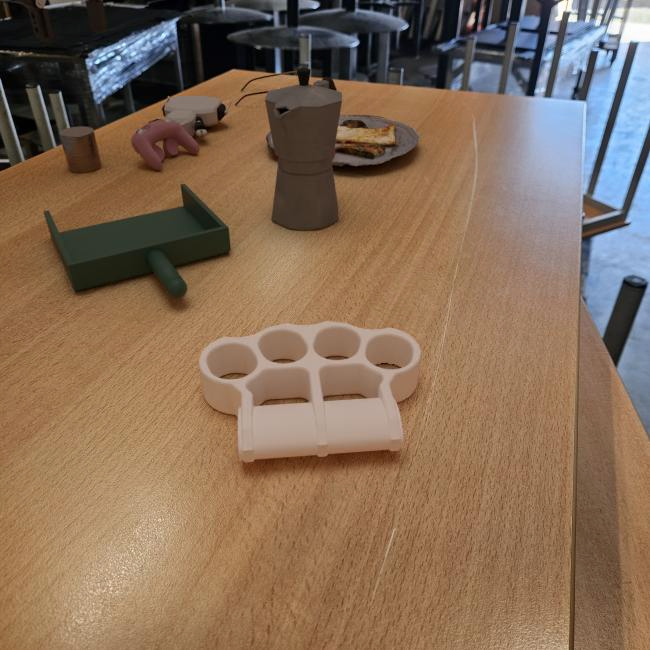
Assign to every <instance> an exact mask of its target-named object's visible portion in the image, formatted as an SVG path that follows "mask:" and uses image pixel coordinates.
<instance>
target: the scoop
mask: <svg viewBox="0 0 650 650" xmlns="http://www.w3.org/2000/svg"><path fill="white" fill-rule="evenodd" d="M180 191H181V192H180V193H181V198H182V199H181V200H182V205H181V206H177V207H172V208H167V209H162V210H158V211H154V212H149V213H145V214H140V215H134V216H130V217H125V218H121V219H116V220H112V221H107V222H106V221H105V222H101V223H96V224H92V225H88V226H83V227H78V228H72V229H68V230H64V231H59V230H58V227H57V224H56V223H55V221H54V219H53V217H52V215H51V212H50V210H48V209H47V210H44V211H43V212H42V213H43V216H44V218H45V222H46V225H47V228H48V232H49V235H50V238H51V241H52V243H53V245H54V247H55V250H56V252H57V255H58V256H59V259H60V261H61V263H62V266H63V269H64V270H65V272H66V275H67V277H68V279H69V282H70V284H71V286H72V289H73V291H74V292H75V293H78V292H81V291H84V290H89V289H93V288H96V287H100V286H101V287H102V286H105V285H108V284H112V283H117V282H120V281H124V280H129V279H131V278H135V277H140V276H144V275H147V274H151V273H154V275H155V276H156V278H157V280H158V281H159V282H160V284H161V286H162V287H163V288H164V290H165V291H166V293H167V294H168V295H169V296H170V297H171V298H172V299H181V298H184V296H185V295H187V291H188V284H187V283H186V281H185V280H184V279H183V277H182V275H181V274H180V273H179V272H178V271H177V269H176V268H175V267H178V266H183V265H187V264H190V263H194V262H198V261H202V260H207V259H210V258H214V257H217V256H222V255H226V254H229V253H230V252H232V249H231V248H232V247H231V238H230V237H231V236H230V229H229V226H228V225H227V224H226V223H225V222H224V221H223V220H222V219H221V218H220V217H219V216H218V215H217V214H216V213H215V212H214V211H213V210H212V209H211V208H210V207H209V206H208V205H207V204H206V203H205V202H204V201H203V200H202V199H201V198H200V197H199V196H198V195H197V194H196V193H195V192H194V191H193V190H192V189H191V188H190V187H189V186H188V185H187V184H185V183H180Z"/></svg>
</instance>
